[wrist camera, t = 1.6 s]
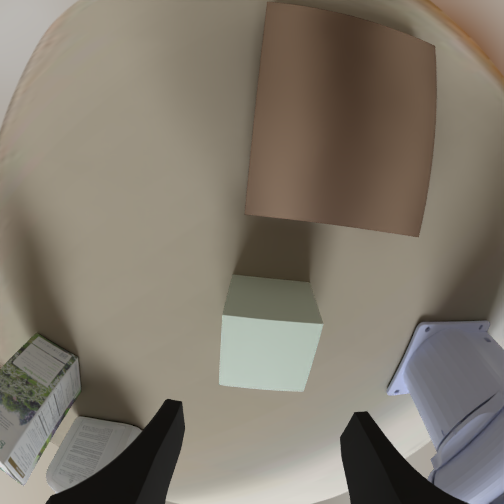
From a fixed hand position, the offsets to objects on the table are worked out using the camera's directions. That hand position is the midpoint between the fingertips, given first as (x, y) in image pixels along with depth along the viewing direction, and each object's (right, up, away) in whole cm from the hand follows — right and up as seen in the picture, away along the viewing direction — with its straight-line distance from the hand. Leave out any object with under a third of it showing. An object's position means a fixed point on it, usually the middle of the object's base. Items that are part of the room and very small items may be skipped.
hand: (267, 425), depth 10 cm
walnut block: (+5, +15, +5) cm, 17 cm away
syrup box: (-21, -4, +12) cm, 24 cm away
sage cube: (0, +3, +9) cm, 10 cm away
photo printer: (-18, -14, +16) cm, 27 cm away
